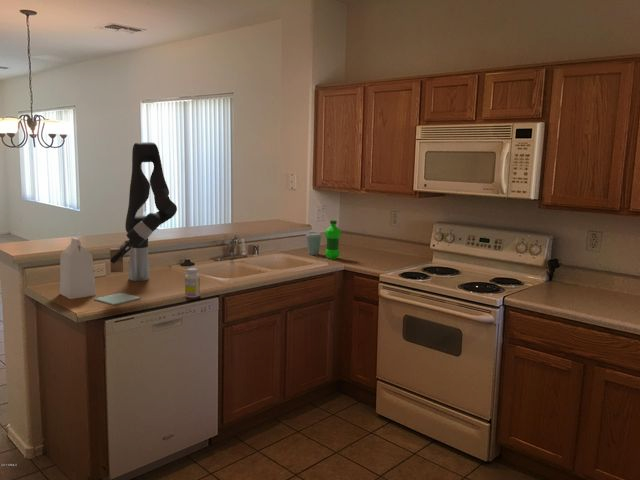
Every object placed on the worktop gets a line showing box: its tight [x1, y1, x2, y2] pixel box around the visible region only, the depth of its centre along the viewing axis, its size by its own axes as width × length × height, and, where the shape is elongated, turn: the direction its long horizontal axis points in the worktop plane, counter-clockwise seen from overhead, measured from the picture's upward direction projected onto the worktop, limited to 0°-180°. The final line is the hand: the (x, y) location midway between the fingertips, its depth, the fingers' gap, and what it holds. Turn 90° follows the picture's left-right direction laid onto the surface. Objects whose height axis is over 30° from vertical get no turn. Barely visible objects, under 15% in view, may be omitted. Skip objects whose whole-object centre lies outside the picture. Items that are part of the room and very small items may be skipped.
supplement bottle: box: [184, 267, 201, 299], centre depth 248 cm, size 7×7×13 cm
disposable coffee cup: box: [305, 231, 322, 256], centre depth 365 cm, size 11×11×15 cm
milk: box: [59, 237, 97, 300], centre depth 245 cm, size 12×12×26 cm
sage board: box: [93, 292, 142, 306], centre depth 240 cm, size 14×14×1 cm
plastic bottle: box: [324, 219, 342, 260], centre depth 351 cm, size 10×10×25 cm
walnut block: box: [109, 247, 124, 273], centre depth 237 cm, size 5×5×10 cm
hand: (112, 260), depth 237 cm, fingers closed on walnut block, 5 cm apart
